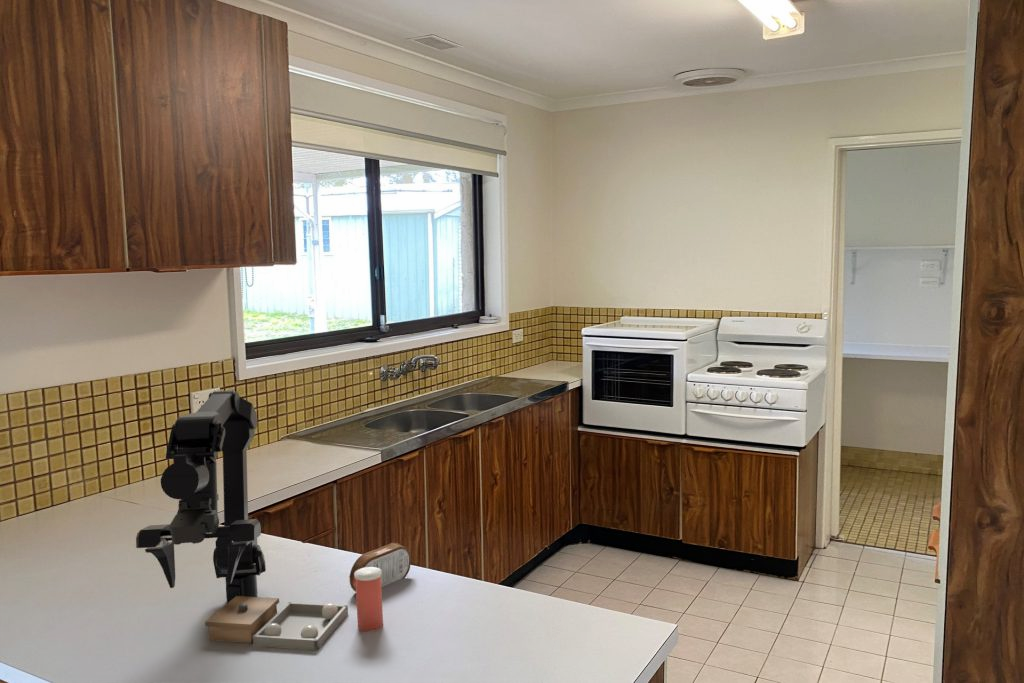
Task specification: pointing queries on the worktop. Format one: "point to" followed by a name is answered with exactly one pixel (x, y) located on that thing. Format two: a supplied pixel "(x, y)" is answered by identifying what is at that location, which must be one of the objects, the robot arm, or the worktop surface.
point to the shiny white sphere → (272, 630)
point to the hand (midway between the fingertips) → (201, 585)
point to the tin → (385, 563)
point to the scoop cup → (369, 598)
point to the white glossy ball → (309, 632)
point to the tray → (300, 626)
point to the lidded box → (241, 618)
